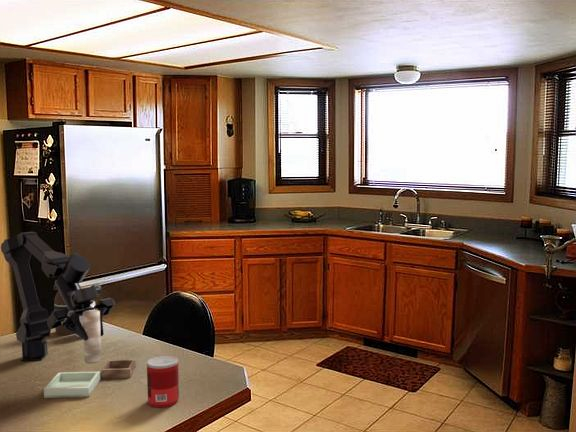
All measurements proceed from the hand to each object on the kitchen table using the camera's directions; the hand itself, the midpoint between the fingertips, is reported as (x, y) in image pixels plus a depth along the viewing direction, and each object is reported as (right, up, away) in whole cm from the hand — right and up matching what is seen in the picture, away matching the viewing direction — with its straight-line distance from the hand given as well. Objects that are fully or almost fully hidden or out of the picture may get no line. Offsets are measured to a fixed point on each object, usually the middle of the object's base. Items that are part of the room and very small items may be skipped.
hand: (94, 337), depth 157 cm
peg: (-1, -7, +2) cm, 7 cm away
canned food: (+21, -15, -10) cm, 28 cm away
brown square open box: (+4, -12, +10) cm, 16 cm away
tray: (-5, -14, -2) cm, 15 cm away
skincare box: (-19, -9, +45) cm, 50 cm away
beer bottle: (-27, -9, +49) cm, 56 cm away
